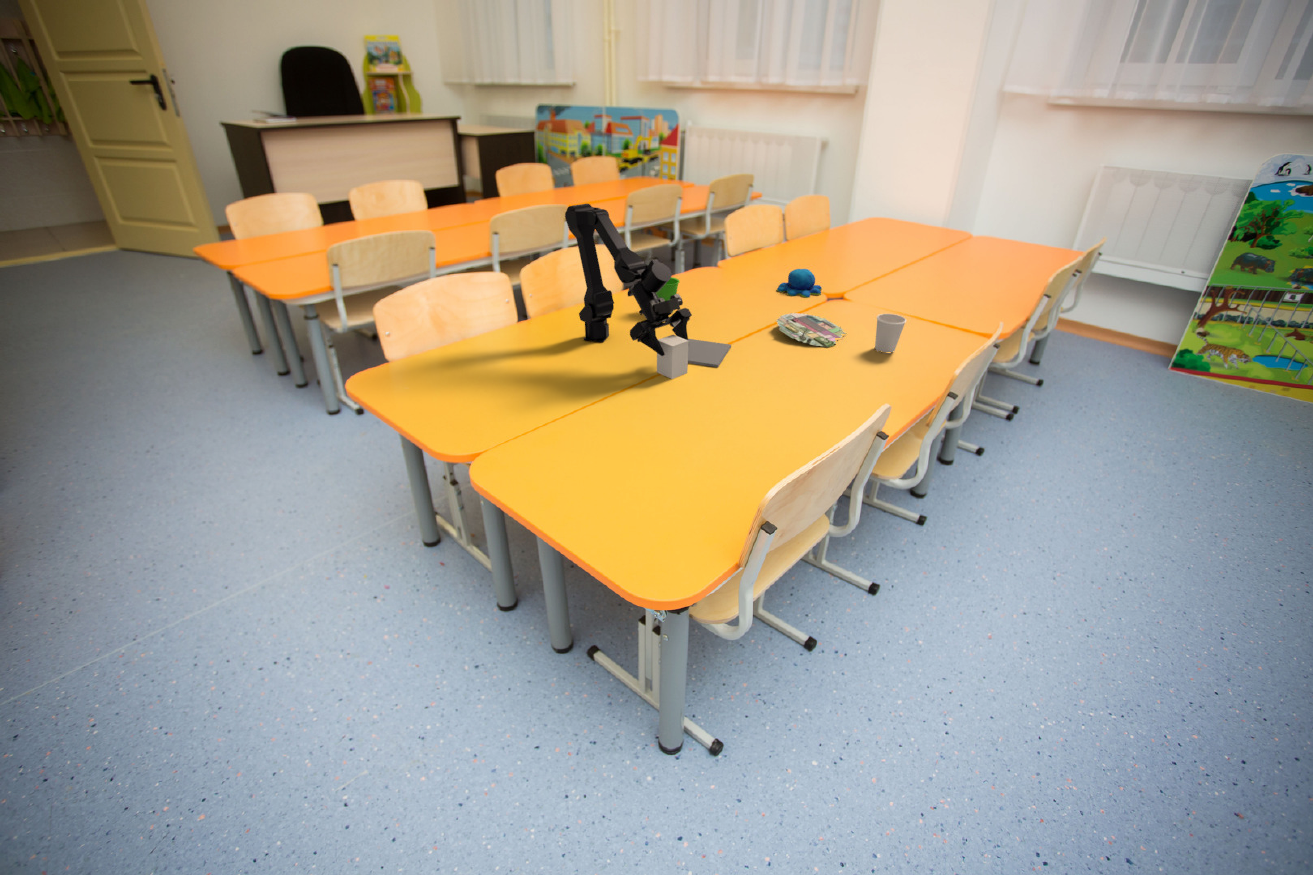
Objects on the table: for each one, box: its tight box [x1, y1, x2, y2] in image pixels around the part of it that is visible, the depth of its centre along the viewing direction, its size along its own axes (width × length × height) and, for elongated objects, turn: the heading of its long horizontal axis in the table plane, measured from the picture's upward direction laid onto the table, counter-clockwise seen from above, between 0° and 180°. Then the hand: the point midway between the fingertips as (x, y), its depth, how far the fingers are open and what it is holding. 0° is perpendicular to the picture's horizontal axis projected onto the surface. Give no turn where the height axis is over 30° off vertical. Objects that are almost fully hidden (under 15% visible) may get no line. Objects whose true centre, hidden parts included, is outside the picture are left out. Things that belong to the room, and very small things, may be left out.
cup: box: [656, 276, 680, 313], centre depth 208 cm, size 9×9×11 cm
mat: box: [688, 338, 732, 368], centre depth 180 cm, size 16×16×1 cm
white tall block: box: [656, 334, 689, 380], centre depth 165 cm, size 6×6×10 cm
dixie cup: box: [874, 313, 907, 353], centre depth 181 cm, size 8×8×10 cm
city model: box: [775, 312, 847, 348], centre depth 193 cm, size 25×23×6 cm
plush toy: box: [776, 268, 822, 299], centre depth 232 cm, size 17×17×8 cm
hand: (675, 350), depth 164 cm, fingers open, 9 cm apart
